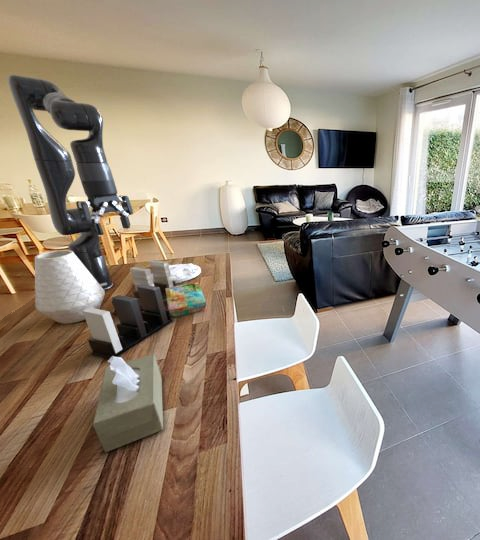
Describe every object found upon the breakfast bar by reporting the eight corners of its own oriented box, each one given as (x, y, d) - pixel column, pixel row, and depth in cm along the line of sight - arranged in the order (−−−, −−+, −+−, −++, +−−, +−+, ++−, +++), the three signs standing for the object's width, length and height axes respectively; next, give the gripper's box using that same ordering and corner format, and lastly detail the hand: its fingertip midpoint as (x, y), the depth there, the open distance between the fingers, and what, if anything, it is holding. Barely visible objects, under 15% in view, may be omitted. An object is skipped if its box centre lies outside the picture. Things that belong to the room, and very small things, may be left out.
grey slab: (131, 316, 102) (119, 281, 96) (114, 313, 103) (102, 278, 98) (178, 291, 121) (171, 260, 115) (163, 288, 122) (156, 258, 117)
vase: (33, 320, 98) (3, 257, 89) (94, 299, 112) (74, 243, 103) (58, 335, 91) (28, 268, 82) (120, 310, 105) (101, 251, 96)
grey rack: (112, 359, 82) (96, 318, 76) (91, 355, 83) (75, 313, 78) (173, 321, 100) (164, 285, 95) (155, 317, 102) (145, 282, 97)
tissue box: (115, 391, 71) (94, 339, 65) (161, 376, 76) (147, 327, 70) (105, 454, 57) (77, 395, 51) (163, 431, 62) (145, 374, 56)
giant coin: (209, 274, 138) (208, 268, 137) (166, 289, 122) (165, 283, 121) (186, 265, 147) (185, 259, 146) (143, 277, 131) (141, 271, 130)
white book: (115, 353, 83) (101, 315, 78) (96, 349, 84) (82, 311, 79) (122, 349, 84) (109, 311, 79) (104, 345, 86) (89, 307, 81)
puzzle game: (168, 308, 99) (164, 286, 114) (170, 319, 101) (167, 296, 116) (205, 299, 106) (197, 280, 121) (207, 310, 107) (199, 290, 122)
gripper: (111, 176, 93) (125, 225, 99) (59, 180, 80) (80, 236, 86) (129, 177, 91) (143, 227, 97) (80, 181, 78) (99, 238, 84)
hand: (113, 231), depth 92 cm, fingers open, 8 cm apart
